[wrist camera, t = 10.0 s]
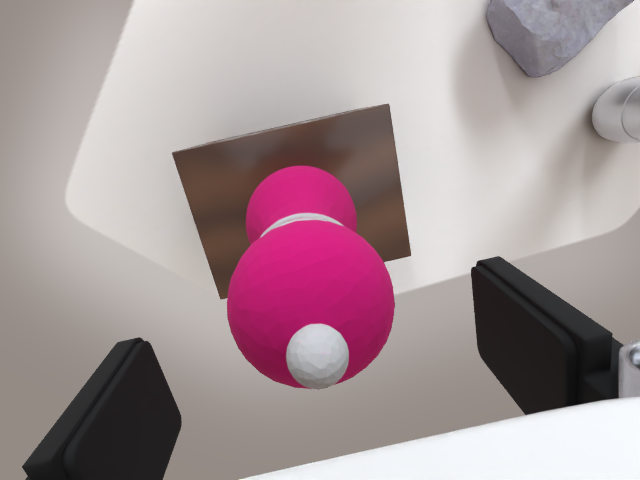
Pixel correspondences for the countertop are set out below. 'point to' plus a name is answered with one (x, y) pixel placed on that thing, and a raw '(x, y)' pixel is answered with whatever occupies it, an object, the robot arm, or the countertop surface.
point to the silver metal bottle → (619, 112)
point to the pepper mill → (308, 283)
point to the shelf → (286, 151)
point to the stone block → (548, 29)
